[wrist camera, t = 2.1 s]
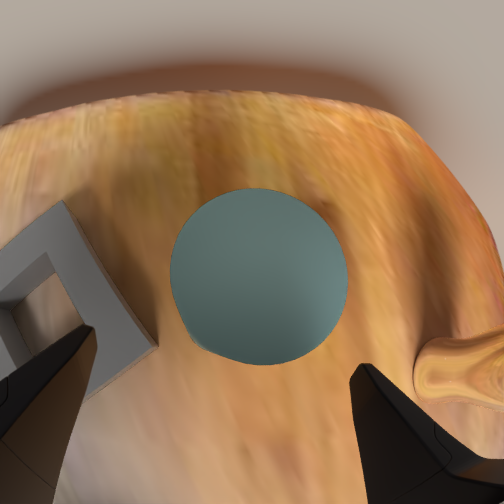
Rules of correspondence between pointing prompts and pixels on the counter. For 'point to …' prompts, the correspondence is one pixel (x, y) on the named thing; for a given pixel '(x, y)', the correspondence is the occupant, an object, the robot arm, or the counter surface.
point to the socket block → (79, 290)
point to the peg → (258, 277)
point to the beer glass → (463, 370)
